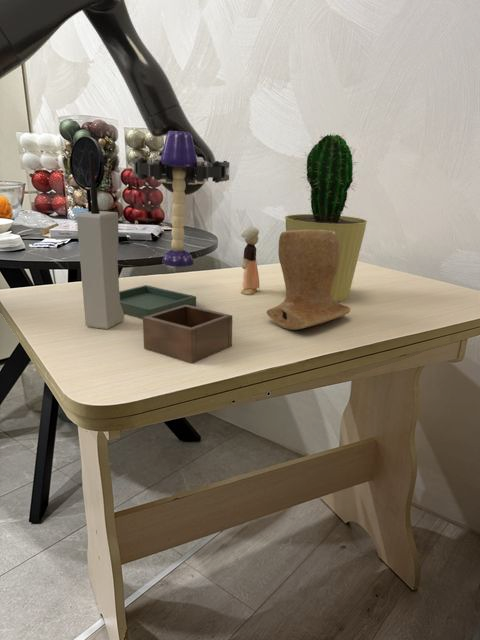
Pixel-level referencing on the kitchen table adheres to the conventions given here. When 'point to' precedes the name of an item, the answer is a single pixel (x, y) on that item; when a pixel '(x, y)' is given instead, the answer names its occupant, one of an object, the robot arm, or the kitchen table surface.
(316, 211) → the potted cactus
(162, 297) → the tray
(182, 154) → the toy lamp
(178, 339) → the brown wooden box
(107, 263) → the utensil holder
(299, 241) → the brown flared block
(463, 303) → the kitchen table surface
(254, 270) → the grandmother figurine
